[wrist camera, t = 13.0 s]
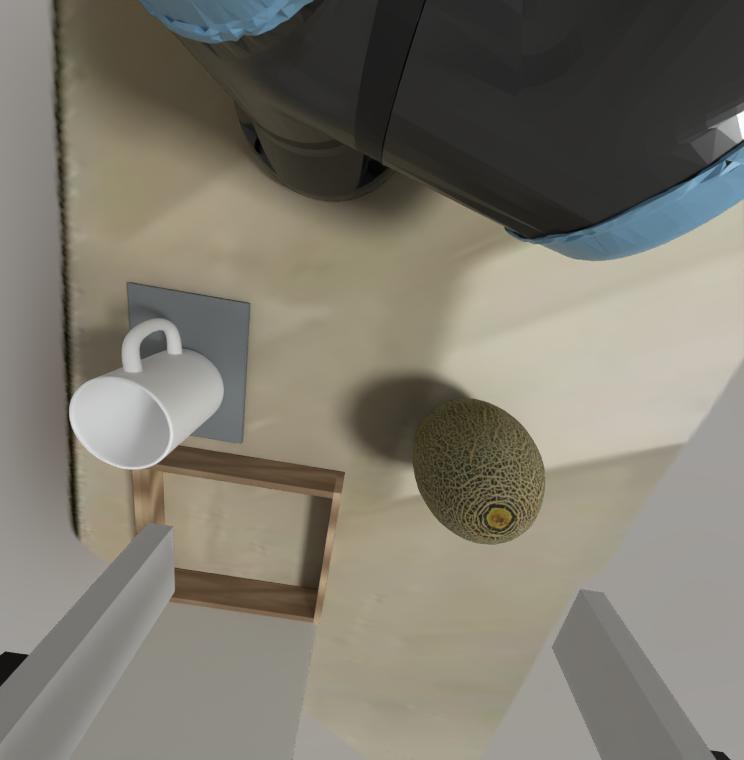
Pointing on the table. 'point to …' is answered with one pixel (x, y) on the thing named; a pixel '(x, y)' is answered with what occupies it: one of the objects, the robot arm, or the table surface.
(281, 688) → the lid
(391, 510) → the table surface
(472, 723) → the table surface
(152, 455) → the cup
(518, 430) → the fruit
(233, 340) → the mat
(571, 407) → the table surface
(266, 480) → the frame
